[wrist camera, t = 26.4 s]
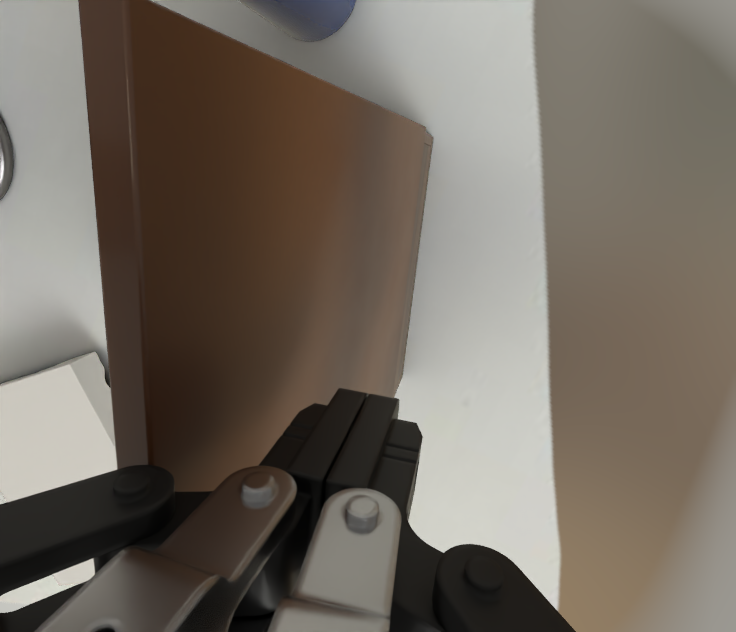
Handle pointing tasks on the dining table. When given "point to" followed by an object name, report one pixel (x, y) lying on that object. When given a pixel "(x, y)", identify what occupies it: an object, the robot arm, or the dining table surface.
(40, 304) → the dining table surface
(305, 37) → the blue coffee mug
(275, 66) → the chest lid
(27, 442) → the white scalloped-edge slab
